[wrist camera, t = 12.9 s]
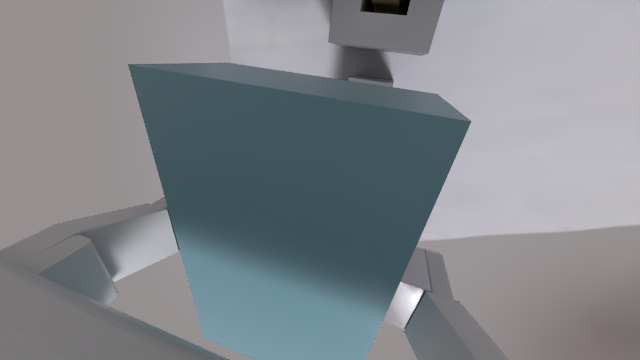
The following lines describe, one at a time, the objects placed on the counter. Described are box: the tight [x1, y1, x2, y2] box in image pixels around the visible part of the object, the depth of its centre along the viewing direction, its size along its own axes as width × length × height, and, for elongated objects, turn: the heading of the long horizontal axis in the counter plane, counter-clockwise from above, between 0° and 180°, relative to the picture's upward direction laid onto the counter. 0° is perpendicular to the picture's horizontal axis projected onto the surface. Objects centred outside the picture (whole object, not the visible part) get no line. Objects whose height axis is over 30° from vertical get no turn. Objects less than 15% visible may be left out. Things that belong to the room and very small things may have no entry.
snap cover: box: [128, 63, 471, 360], centre depth 7 cm, size 10×6×3 cm, turn 174°
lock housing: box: [328, 0, 444, 87], centre depth 21 cm, size 18×8×5 cm, turn 173°
